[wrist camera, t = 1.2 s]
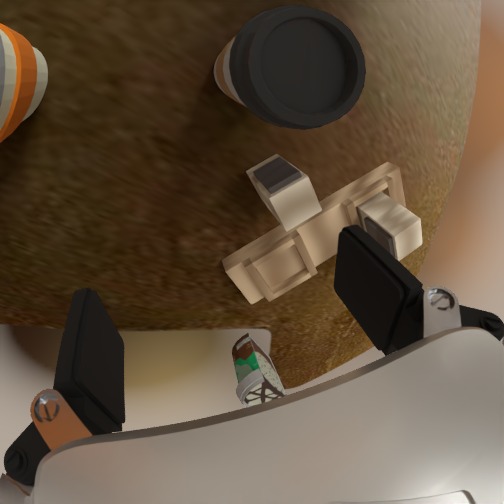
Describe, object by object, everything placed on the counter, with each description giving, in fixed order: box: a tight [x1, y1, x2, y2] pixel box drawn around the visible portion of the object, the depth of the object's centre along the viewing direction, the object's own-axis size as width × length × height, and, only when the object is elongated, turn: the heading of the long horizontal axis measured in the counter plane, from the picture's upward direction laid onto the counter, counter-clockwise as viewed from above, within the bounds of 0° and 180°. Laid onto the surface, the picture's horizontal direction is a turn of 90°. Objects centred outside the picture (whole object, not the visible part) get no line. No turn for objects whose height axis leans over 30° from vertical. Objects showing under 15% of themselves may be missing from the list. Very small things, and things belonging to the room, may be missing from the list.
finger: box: [246, 154, 322, 232], centre depth 29 cm, size 5×4×8 cm
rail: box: [222, 162, 422, 305], centre depth 34 cm, size 26×7×10 cm, turn 118°
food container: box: [232, 333, 287, 408], centre depth 45 cm, size 12×6×10 cm, turn 27°
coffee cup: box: [214, 5, 366, 130], centre depth 19 cm, size 8×8×15 cm
